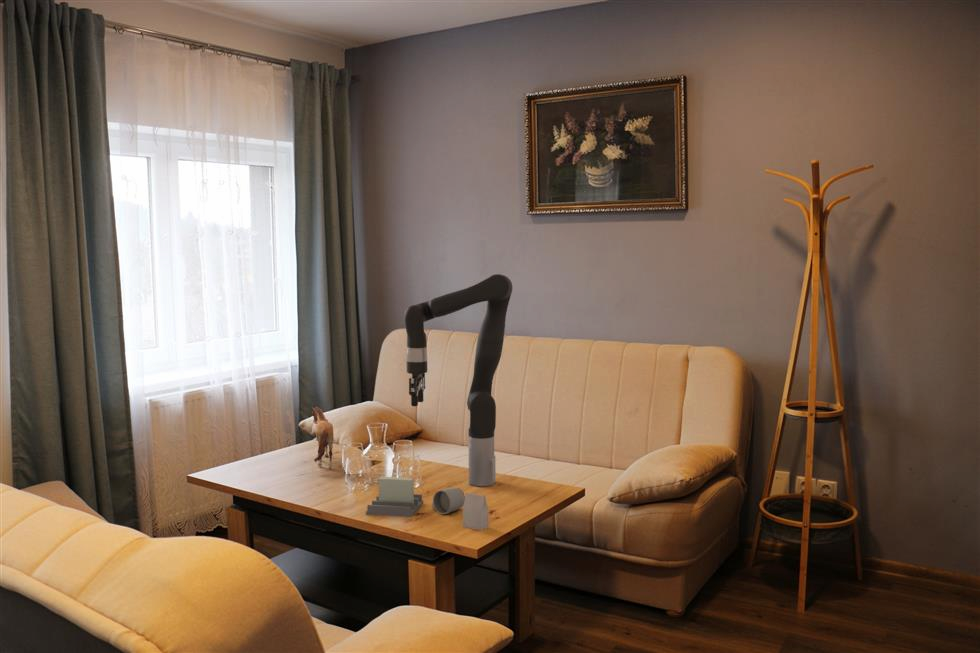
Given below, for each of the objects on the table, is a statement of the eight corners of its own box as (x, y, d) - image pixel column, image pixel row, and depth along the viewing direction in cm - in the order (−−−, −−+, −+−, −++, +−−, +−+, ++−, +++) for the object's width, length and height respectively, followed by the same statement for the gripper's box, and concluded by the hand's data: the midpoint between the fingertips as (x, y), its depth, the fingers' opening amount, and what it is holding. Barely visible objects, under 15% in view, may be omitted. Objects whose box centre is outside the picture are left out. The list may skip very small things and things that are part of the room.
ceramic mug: (467, 510, 266) (466, 486, 265) (450, 516, 260) (449, 492, 259) (442, 504, 272) (441, 481, 272) (425, 510, 266) (424, 487, 265)
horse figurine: (312, 454, 340) (311, 405, 338) (332, 453, 341) (331, 404, 340) (314, 474, 310) (312, 420, 308) (335, 473, 311) (334, 419, 310)
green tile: (413, 505, 268) (413, 478, 267) (411, 507, 265) (411, 480, 264) (381, 503, 270) (380, 476, 269) (378, 506, 267) (378, 478, 266)
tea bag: (481, 530, 246) (481, 497, 246) (462, 526, 250) (462, 494, 249) (488, 527, 249) (488, 494, 249) (469, 523, 253) (469, 491, 252)
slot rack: (423, 503, 273) (423, 494, 273) (411, 516, 259) (411, 507, 259) (379, 501, 276) (379, 492, 276) (365, 514, 262) (365, 505, 262)
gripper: (422, 362, 292) (422, 407, 293) (431, 357, 306) (432, 400, 307) (401, 362, 293) (402, 407, 294) (411, 357, 307) (412, 400, 308)
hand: (417, 404), depth 301 cm, fingers open, 8 cm apart
